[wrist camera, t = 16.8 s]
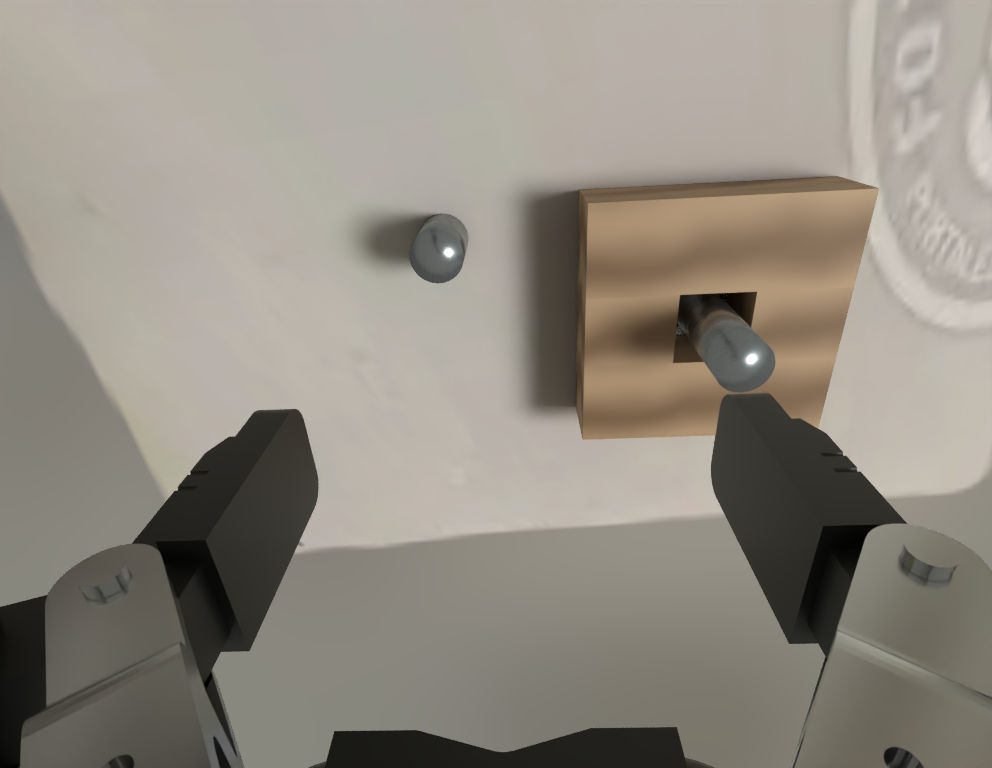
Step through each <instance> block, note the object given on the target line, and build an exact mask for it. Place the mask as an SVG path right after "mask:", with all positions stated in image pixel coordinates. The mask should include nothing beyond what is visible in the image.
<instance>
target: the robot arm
mask: <svg viewBox="0 0 992 768" xmlns="http://www.w3.org/2000/svg"><path fill="white" fill-rule="evenodd" d="M190 472H191V474H190V475H187V476H186V478H185V479H184V480H183V481H182V483H181V484H180V485H179V486H178V491H174V492H173V494H172V495H171V496H170V497H169V499H168V500H167V501H166V502H165V503H164V505H163V506H162V507H161V508H160V510H159V511H158V512H157V513H156V515H155V516H154V517H153V518H152V520H151V521H150V522H149V523H148V524H147V526H146V527H145V528H144V529H143V531H142V532H141V533H140V534H139V535H138V537H137V538H136V539H135V540H134V542H133V543H132V544H126V545H120V546H116V547H113V548H109V549H107V550H104V551H101V552H99V553H97V554H95V555H92V556H90V557H89V558H87V559H85V560H83V561H81V562H80V563H79V564H77V565H75V566H74V567H72V568H71V569H70V570H69V571H67V572H66V573H65V574H64V575H63V576H62V577H61V578H60V579H59V580H58V581H57V582H56V584H54V586H53V587H52V588H51V590H50V592H49V593H48V595H45V596H42V597H38V598H34V599H30V600H26V601H22V602H18V603H14V604H10V605H7V606H2V607H0V768H245V767H244V764H243V761H242V758H241V755H240V751H239V748H238V745H237V742H236V739H235V735H234V732H233V729H232V726H231V723H230V720H229V716H228V713H227V711H226V707H225V704H224V700H223V698H222V694H221V691H220V688H219V685H218V681H217V679H216V677H215V674H214V672H213V670H212V668H213V666H214V664H215V662H216V660H217V658H218V656H219V654H220V652H231V651H250V648H251V646H252V644H253V642H254V640H255V638H256V635H257V633H258V631H259V629H260V626H261V624H262V622H263V620H264V618H265V616H266V613H267V611H268V609H269V607H270V605H271V602H272V600H273V598H274V596H275V593H276V591H277V589H278V587H279V585H280V583H281V580H282V578H283V576H284V574H285V571H286V569H287V567H288V565H289V563H290V561H291V558H292V556H293V554H294V552H295V550H296V547H297V545H298V543H299V541H300V539H301V536H302V534H303V532H304V530H305V528H306V525H307V523H308V521H309V519H310V517H311V514H312V512H313V510H314V508H315V505H316V502H317V497H318V475H317V471H316V467H315V463H314V459H313V455H312V451H311V447H310V443H309V439H308V435H307V431H306V427H305V423H304V419H303V417H302V415H301V413H300V412H299V411H298V410H297V409H283V410H258V411H256V412H254V413H253V414H252V416H251V417H250V418H249V419H248V421H247V422H246V423H245V425H244V426H243V427H242V429H241V430H240V431H239V432H238V434H237V435H236V436H235V437H228V438H227V439H225V440H224V441H222V442H221V443H219V444H218V445H216V446H215V447H214V448H212V449H211V450H209V451H208V452H206V453H205V454H204V455H203V457H202V458H201V459H200V460H199V462H198V463H197V464H196V465H195V467H194V468H193V469H192V470H191V471H190ZM711 478H712V485H713V489H714V492H715V495H716V498H717V500H718V502H719V504H720V506H721V508H722V510H723V512H724V514H725V516H726V518H727V520H728V521H729V524H730V526H731V528H732V530H733V532H734V534H735V536H736V538H737V540H738V542H739V544H740V546H741V548H742V550H743V552H744V554H745V556H746V558H747V560H748V562H749V564H750V566H751V568H752V570H753V572H754V574H755V576H756V578H757V580H758V582H759V584H760V586H761V588H762V590H763V592H764V594H765V596H766V598H767V600H768V602H769V604H770V606H771V608H772V610H773V612H774V614H775V616H776V618H777V620H778V622H779V624H780V626H781V628H782V630H783V632H784V634H785V636H786V638H787V640H788V642H789V644H806V643H818V644H819V645H820V647H821V649H822V651H823V653H824V654H825V659H824V662H823V665H822V668H821V671H820V675H819V678H818V681H817V684H816V687H815V691H814V693H813V697H812V700H811V703H810V706H809V710H808V713H807V716H806V719H805V722H804V725H803V728H802V732H801V735H800V738H799V741H798V744H797V748H796V751H795V754H794V757H793V761H792V763H791V767H790V768H992V570H991V569H990V567H989V566H988V564H987V563H985V561H984V560H983V559H982V558H981V557H980V556H979V555H977V554H976V553H975V552H974V551H973V550H971V549H970V548H968V547H967V546H965V545H964V544H962V543H961V542H959V541H957V540H955V539H953V538H951V537H949V536H947V535H945V534H942V533H940V532H937V531H934V530H931V529H928V528H925V527H921V526H915V525H910V524H907V523H906V522H905V521H904V520H903V519H902V517H901V516H900V515H899V514H898V513H897V512H896V511H895V510H894V509H893V507H892V506H891V505H890V504H889V503H888V502H887V501H886V500H885V498H884V497H883V496H882V495H881V494H880V493H879V492H878V491H877V490H876V488H875V487H874V486H873V485H872V484H871V483H870V482H869V481H868V480H867V478H866V477H865V476H864V475H863V474H862V473H861V472H857V467H856V466H855V465H854V464H853V463H852V462H851V461H850V460H849V458H848V457H847V456H843V452H842V451H841V449H840V448H839V447H838V446H837V445H836V444H835V443H834V442H833V441H832V439H831V438H830V437H829V436H828V435H827V434H826V433H824V432H823V431H821V430H819V429H818V428H816V427H814V426H813V425H811V424H809V423H808V422H806V421H804V420H802V419H801V418H794V419H791V418H790V416H789V415H788V414H787V413H786V412H785V410H784V409H783V408H782V407H781V406H780V404H779V403H778V402H777V401H776V400H775V398H774V397H773V396H772V395H771V394H769V393H751V394H727V395H725V396H724V397H723V399H722V401H721V404H720V410H719V416H718V423H717V429H716V436H715V442H714V449H713V455H712V462H711ZM309 768H714V767H712V766H709V765H706V764H704V763H701V762H699V761H696V760H692V759H688V758H685V757H684V753H683V750H682V746H681V742H680V738H679V734H678V730H677V727H662V728H590V729H587V730H583V731H580V732H577V733H573V734H570V735H566V736H563V737H559V738H556V739H553V740H549V741H546V742H542V743H539V744H536V745H532V746H529V747H525V748H521V749H518V750H515V751H510V752H495V751H491V750H487V749H484V748H480V747H476V746H473V745H469V744H465V743H462V742H458V741H454V740H451V739H447V738H443V737H440V736H436V735H432V734H428V733H425V732H421V731H417V730H407V731H406V730H404V731H403V730H402V731H334V735H333V739H332V742H331V746H330V750H329V754H328V758H327V761H326V762H323V763H320V764H316V765H314V766H311V767H309Z"/></svg>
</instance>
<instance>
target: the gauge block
mask: <svg viewBox="0 0 992 768" xmlns="http://www.w3.org/2000/svg"><path fill="white" fill-rule="evenodd" d="M878 191H879V188H876V187H872V186H869V185H866V184H862V183H859V182H855V181H852V180H849V179H845V178H842V177H838V176H835V177H816V178H797V179H778V180H759V181H739V182H720V183H701V184H682V185H663V186H643V187H624V188H605V189H586V190H579V248H578V313H577V378H576V409H577V414H578V419H579V424H580V429H581V434H582V439H583V440H585V439H615V438H645V437H675V436H705V435H716V429H717V423H718V416H719V410H720V404H721V401H722V399H723V397H724V396H725V395H727V394H751V393H769V394H771V395H772V396H773V397H774V398H775V400H776V401H777V402H778V403H779V404H780V406H781V407H782V408H783V409H784V410H785V412H786V413H787V414H788V415H789V416H790V418H791V419H794V418H801V419H802V420H804V421H806V422H808V423H809V424H811V425H813V426H814V427H816V428H818V427H819V423H820V419H821V415H822V411H823V407H824V403H825V399H826V395H827V391H828V387H829V383H830V379H831V375H832V372H833V368H834V364H835V360H836V356H837V352H838V348H839V344H840V340H841V336H842V332H843V328H844V324H845V320H846V316H847V313H848V309H849V305H850V301H851V297H852V293H853V289H854V285H855V281H856V277H857V273H858V269H859V265H860V261H861V258H862V254H863V250H864V246H865V242H866V238H867V234H868V230H869V226H870V222H871V218H872V214H873V210H874V206H875V203H876V199H877V195H878ZM713 293H728V300H727V304H728V305H729V306H730V307H731V308H732V309H733V310H734V311H735V312H736V313H737V314H738V315H739V316H740V317H741V318H742V319H743V320H744V321H745V322H746V323H747V324H748V325H749V326H750V327H751V328H752V329H753V330H754V331H755V332H756V333H757V334H758V335H759V336H760V337H761V338H762V339H763V340H764V341H765V343H766V344H767V345H768V346H769V347H770V348H771V349H772V350H773V352H774V355H775V361H776V363H775V368H774V371H773V373H772V375H771V376H770V378H769V379H768V380H767V381H766V382H765V383H764V384H763V385H761V386H760V387H758V388H756V389H754V390H751V391H748V392H742V393H737V392H731V391H728V390H726V389H724V388H723V387H722V386H721V385H720V384H719V383H718V381H717V380H716V379H715V377H714V376H713V374H712V373H711V371H710V370H709V369H708V367H707V366H706V364H705V363H704V361H703V360H702V358H701V357H700V356H699V354H698V353H697V351H696V350H695V348H694V347H693V345H692V344H691V343H690V341H689V340H688V338H687V337H686V335H676V328H677V318H678V309H679V299H680V295H690V294H713Z"/></svg>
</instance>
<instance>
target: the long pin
mask: <svg viewBox="0 0 992 768" xmlns="http://www.w3.org/2000/svg"><path fill="white" fill-rule="evenodd" d="M677 324H678V325H679V327H680V328H681V330H682V331H683V332H684V334H685V335H686V337H687V338H688V340H689V341H690V343H691V344H692V345H693V347H694V348H695V350H696V351H697V353H698V354H699V356H700V357H701V358H702V360H703V361H704V363H705V364H706V366H707V367H708V369H709V370H710V371H711V373H712V374H713V376H714V377H715V379H716V380H717V381H718V383H719V384H720V385H721V386H722V387H723V388H724V389H726V390H728V391H731V392H737V393H742V392H748V391H751V390H754V389H756V388H758V387H760V386H761V385H763V384H764V383H765V382H766V381H767V380H768V379H769V378H770V376H771V375H772V373H773V371H774V368H775V363H776V361H775V355H774V352H773V350H772V349H771V348H770V347H769V346H768V345H767V344H766V343H765V341H764V340H763V339H762V338H761V337H760V336H759V335H758V334H757V333H756V332H755V331H754V330H753V329H752V328H751V327H750V326H749V325H748V324H747V323H746V322H745V321H744V320H743V319H742V318H741V317H740V316H739V315H738V314H737V313H736V312H735V311H734V310H733V309H732V308H731V307H730V306H729V305H728V304H727V303H726V302H725V301H724V300H723V299H722V298H721V296H720V295H719V294H718V293H713V294H690V295H680V299H679V309H678V318H677Z"/></svg>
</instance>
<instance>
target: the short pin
mask: <svg viewBox="0 0 992 768" xmlns="http://www.w3.org/2000/svg"><path fill="white" fill-rule="evenodd" d="M467 245H468V234H467V230H466V228H465V226H464V225H463V224H462V222H461V221H460V220H458V219H457V218H456V217H454V216H451V215H448V214H438V215H435V216H432V217H431V218H429V219H428V220H427V221H426V222H425V223H424V225H423V226H422V228H421V230H420V231H419V233H418V235H417V236H416V238H415V240H414V242H413V243H412V246H411V249H410V262H411V265H412V267H413V269H414V270H415V272H416V273H417V274H418V275H419V276H420V277H421V278H423V279H424V280H426V281H429V282H432V283H444V282H447V281H449V280H451V279H453V278H454V277H455V276H456V275H457V274H458V273H459V272H460V270H461V268H462V265H463V261H464V257H465V253H466V249H467Z"/></svg>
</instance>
